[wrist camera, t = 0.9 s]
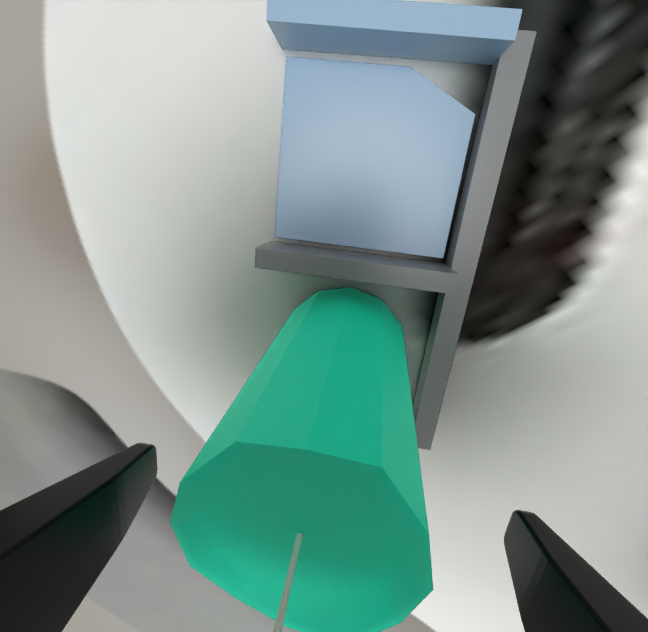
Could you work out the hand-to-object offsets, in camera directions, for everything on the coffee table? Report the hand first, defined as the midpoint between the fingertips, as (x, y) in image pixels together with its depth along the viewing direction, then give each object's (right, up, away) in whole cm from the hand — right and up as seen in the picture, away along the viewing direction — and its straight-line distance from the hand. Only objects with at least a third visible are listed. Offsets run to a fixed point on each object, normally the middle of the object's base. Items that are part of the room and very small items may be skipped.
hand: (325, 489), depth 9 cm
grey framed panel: (+1, +7, +8) cm, 10 cm away
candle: (+1, +3, +9) cm, 9 cm away
